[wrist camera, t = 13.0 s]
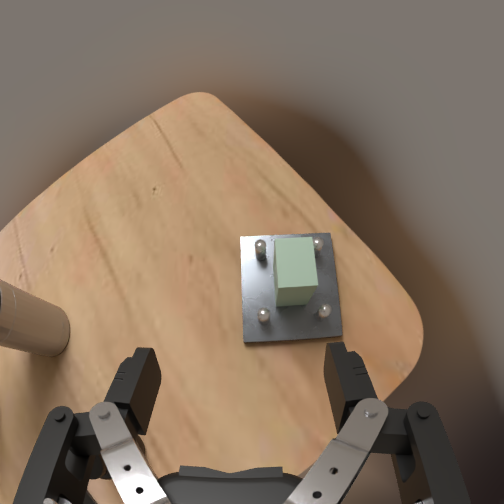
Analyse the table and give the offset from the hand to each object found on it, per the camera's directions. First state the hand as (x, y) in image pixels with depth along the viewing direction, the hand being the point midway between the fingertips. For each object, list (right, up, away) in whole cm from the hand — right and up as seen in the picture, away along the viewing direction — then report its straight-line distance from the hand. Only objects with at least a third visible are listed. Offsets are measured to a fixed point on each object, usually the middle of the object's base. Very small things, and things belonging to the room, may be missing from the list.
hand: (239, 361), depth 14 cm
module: (+6, 0, +32) cm, 32 cm away
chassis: (+6, 0, +33) cm, 33 cm away
